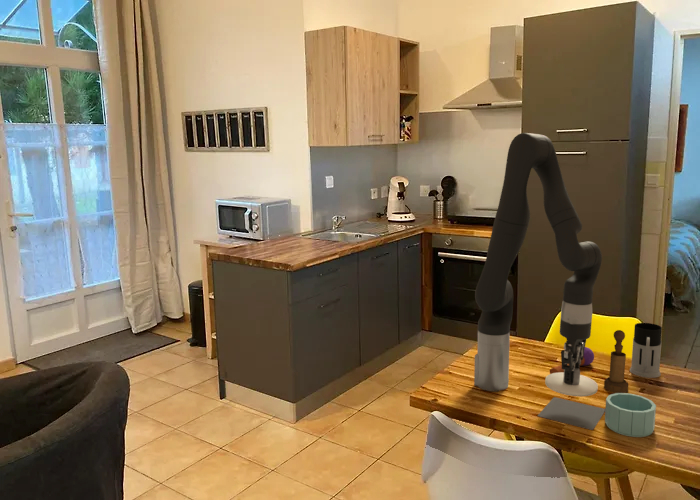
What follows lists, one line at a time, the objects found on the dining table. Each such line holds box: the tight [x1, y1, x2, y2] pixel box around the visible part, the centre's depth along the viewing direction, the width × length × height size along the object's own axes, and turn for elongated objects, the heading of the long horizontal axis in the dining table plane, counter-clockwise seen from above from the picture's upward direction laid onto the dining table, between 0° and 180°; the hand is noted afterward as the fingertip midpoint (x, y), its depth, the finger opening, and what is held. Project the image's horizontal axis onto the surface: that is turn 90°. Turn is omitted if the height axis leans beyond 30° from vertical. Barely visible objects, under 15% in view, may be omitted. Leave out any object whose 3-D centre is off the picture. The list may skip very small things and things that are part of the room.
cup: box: [604, 392, 657, 438], centre depth 146 cm, size 11×11×7 cm
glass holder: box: [629, 322, 663, 379], centre depth 177 cm, size 9×14×15 cm, turn 154°
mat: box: [537, 396, 606, 431], centre depth 154 cm, size 14×14×1 cm
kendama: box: [549, 346, 595, 374], centre depth 184 cm, size 6×6×20 cm
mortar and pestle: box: [603, 329, 630, 394], centre depth 167 cm, size 7×6×18 cm
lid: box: [544, 368, 599, 397], centre depth 153 cm, size 13×13×4 cm
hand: (571, 380), depth 153 cm, fingers closed on lid, 4 cm apart
